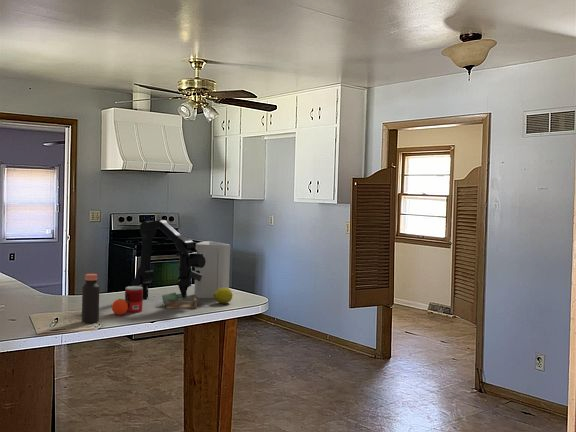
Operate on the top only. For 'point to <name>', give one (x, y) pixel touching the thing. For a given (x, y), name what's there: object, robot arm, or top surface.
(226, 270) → the paper bag
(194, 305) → the cradle
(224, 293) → the lemon
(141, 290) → the canned food
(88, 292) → the vinegar
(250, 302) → the top surface
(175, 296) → the bottle
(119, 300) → the clementine
